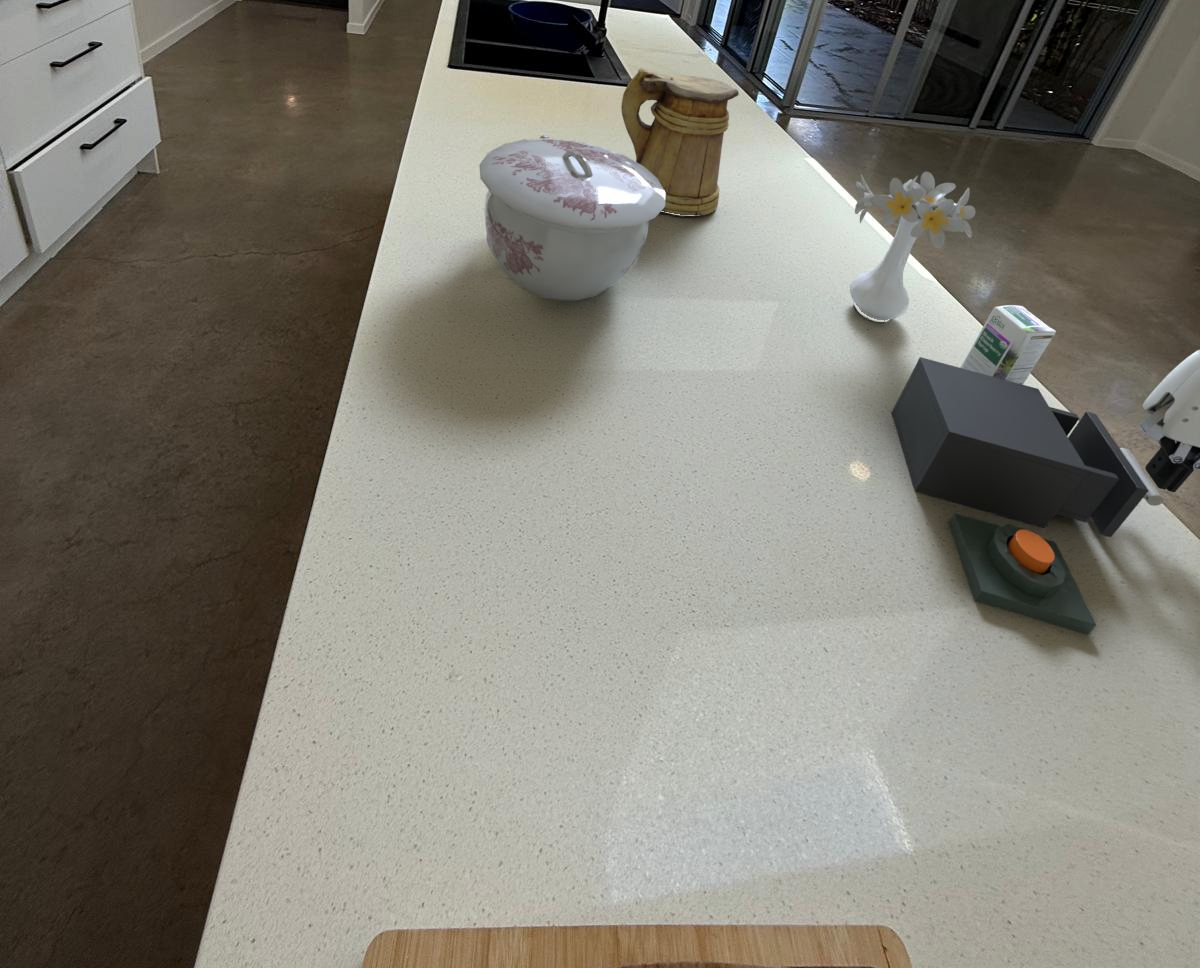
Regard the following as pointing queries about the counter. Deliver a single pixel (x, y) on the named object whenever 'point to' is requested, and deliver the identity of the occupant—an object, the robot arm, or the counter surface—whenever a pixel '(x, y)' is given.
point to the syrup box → (1009, 344)
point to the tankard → (680, 136)
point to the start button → (1031, 551)
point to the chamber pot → (566, 215)
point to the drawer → (1103, 476)
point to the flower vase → (905, 238)
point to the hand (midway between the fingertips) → (1158, 480)
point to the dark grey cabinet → (985, 443)
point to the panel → (1017, 577)
